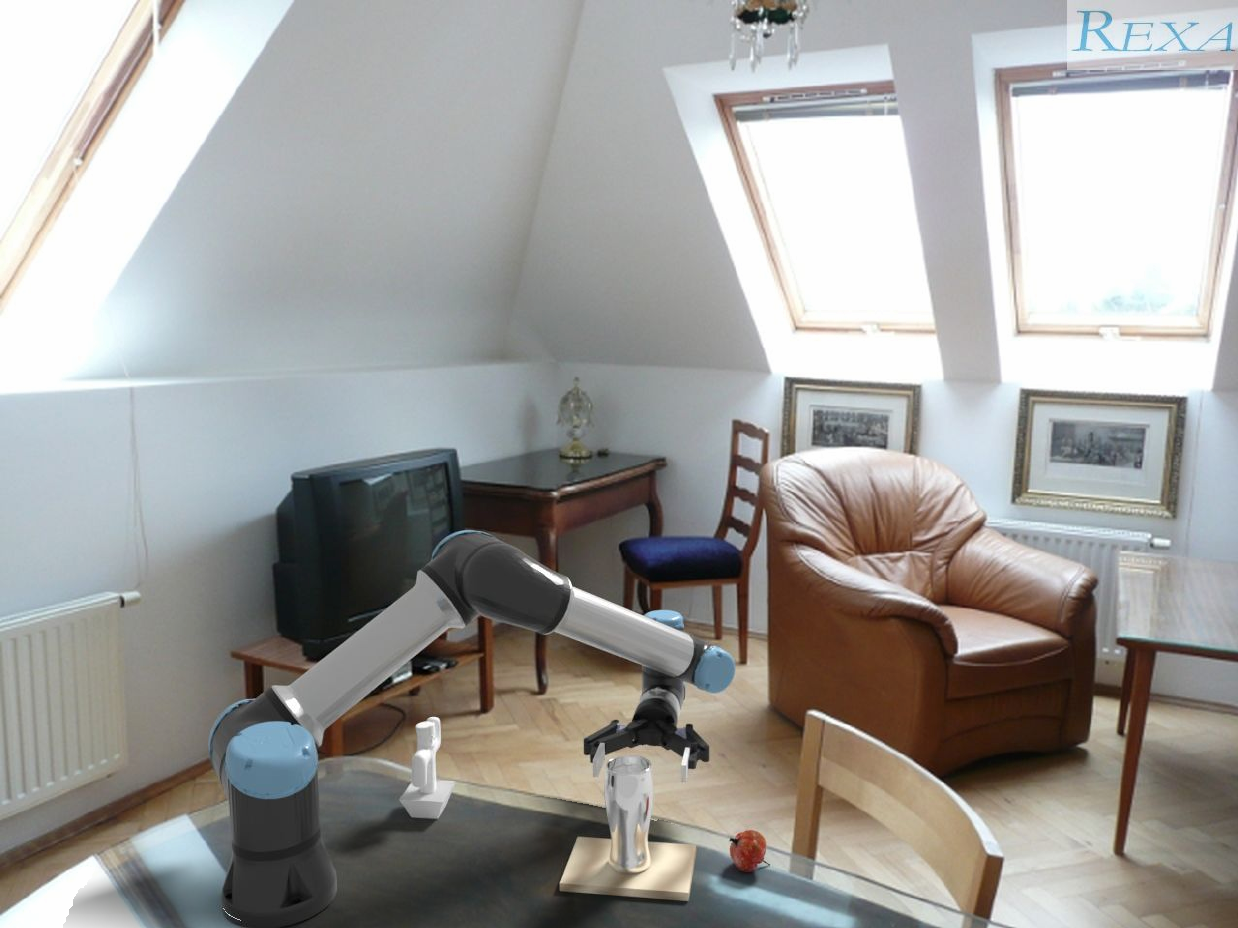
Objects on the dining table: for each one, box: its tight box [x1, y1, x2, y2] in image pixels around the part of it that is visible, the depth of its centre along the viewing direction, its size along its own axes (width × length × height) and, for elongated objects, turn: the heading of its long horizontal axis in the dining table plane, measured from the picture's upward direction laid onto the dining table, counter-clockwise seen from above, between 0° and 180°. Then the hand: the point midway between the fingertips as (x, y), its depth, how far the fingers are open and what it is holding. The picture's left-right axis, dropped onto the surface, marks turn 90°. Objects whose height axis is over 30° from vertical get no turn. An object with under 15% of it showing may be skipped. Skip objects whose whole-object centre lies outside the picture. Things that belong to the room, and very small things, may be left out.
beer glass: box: [603, 754, 654, 874], centre depth 149 cm, size 7×7×15 cm
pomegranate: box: [728, 829, 771, 873], centre depth 150 cm, size 6×6×8 cm
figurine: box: [398, 716, 456, 820], centre depth 167 cm, size 7×9×15 cm
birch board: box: [559, 836, 697, 902], centre depth 150 cm, size 18×13×1 cm
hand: (639, 771), depth 158 cm, fingers open, 13 cm apart
